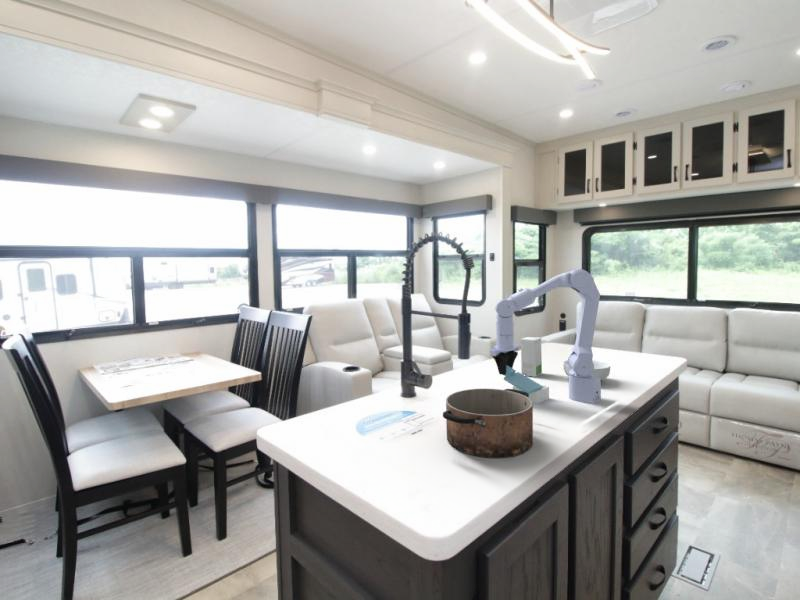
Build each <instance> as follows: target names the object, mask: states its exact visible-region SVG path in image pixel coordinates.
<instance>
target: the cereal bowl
mask: <svg viewBox="0 0 800 600" xmlns="http://www.w3.org/2000/svg"><path fill="white" fill-rule="evenodd" d="M592 361H593V364H594V370H593V372H592V376H594V377H597V378H599V379H600V381H604V380H606V379H607V378H608V377H609V375H610V372H611V365H610V364H609V363H606V362H604V361H599V360H594V359H592ZM563 370H564V373H565V375H567V376H568V377H569V371H570V370H571V368H570V366H569V365H568V359H567V360H565V361H563Z"/></svg>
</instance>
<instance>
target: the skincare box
mask: <svg viewBox="0 0 800 600" xmlns="http://www.w3.org/2000/svg"><path fill="white" fill-rule="evenodd" d="M542 355H543V354H542V337H537V336H535V337H534V336H526V337H523V338H522V337H521V338H520V356H521V357H520V362H521V363H520V365H521V367H520V368H521V372H520V373H521V374H523V375H525V376H526V377H530V376H532V377H531V378H536V377H538V376H540V375H541V373H542V374H543V369H542V368H543V367H542V365H543V363H542V361H543V360H542V359H543V358H542Z"/></svg>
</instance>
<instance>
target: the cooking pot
mask: <svg viewBox="0 0 800 600" xmlns="http://www.w3.org/2000/svg"><path fill="white" fill-rule="evenodd" d="M533 404H534V403H532V401H531V399H529V394H528V393H527V392H524V391H520V390H515V389H513V388H506V389H500V388H499V389H498V388H471V389H464V390H459V391H456V392H453V393H451V394H449V395H448V396H447V397H446V399H445V411H443V412H442V417H443V418H444V419H445V422H446V423H445V425H446V440H447V442H448V444H450V445H451V446H452V447H453V448H454V449H455V448H456V451H459V452H461V453H463V454H465V455H469V456H474V457H479V458H480V457H481V458H488V459H504V458H506V459H507V458H512V457H516V456H520V455H522V454H524V453H526V452H527V451H528V450H530V449H531V448H532V446H533V444H534V443H533V442H534V431H533V430H534V423H533V421H534V420H533V417H534V415H533V413H534V412H533V408H534V407H533V406H534V405H533Z"/></svg>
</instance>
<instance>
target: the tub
mask: <svg viewBox="0 0 800 600" xmlns="http://www.w3.org/2000/svg"><path fill="white" fill-rule="evenodd" d="M541 385H542V389H540V390H538V391H535V392H532V393H530V394H529V399H531V401H532V403H533V404H535V405H539V404H540V403H542V402H544V401H546V400H547V401H548V400H549V399H550V387H549V386H547V385H543V384H541ZM512 389H515V390H520V389H518V388H517V387H515V386H513V385H512ZM520 391H522V390H520Z"/></svg>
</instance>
